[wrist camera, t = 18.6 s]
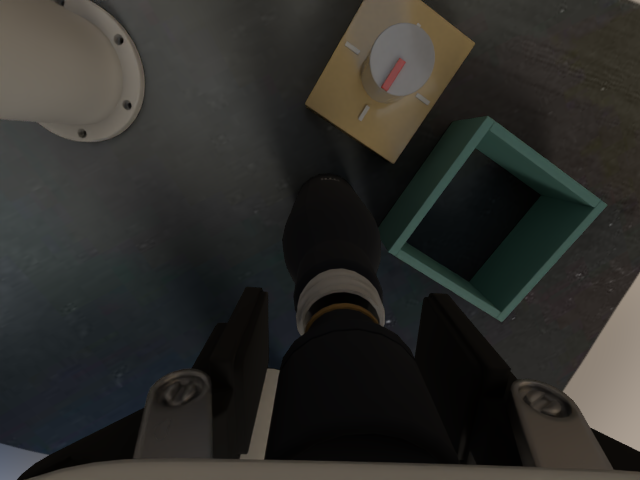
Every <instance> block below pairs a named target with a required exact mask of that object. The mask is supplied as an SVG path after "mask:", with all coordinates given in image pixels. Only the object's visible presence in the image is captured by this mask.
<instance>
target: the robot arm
mask: <svg viewBox="0 0 640 480" xmlns="http://www.w3.org/2000/svg"><path fill="white" fill-rule="evenodd" d="M122 41H123V43H122ZM144 90H145V78H144V69H143V66H142V62H141V59H140V55H139V53H138V51H137V49H136V46H135V44H134V42H133V40H132V39H131V37H130V36H129V34H128V33H127V31H126V30H125V28H124V27H123V26H122V25H121V24H120V23H119V22H118V21H117V20H116V19H115V18H114V17H113V16H112V15H111V14H109V13H108V12H107V11H105V10H104V9H103V8H101V7H100V6H98V5H96V4H95V3H93V2H91V1H90V0H0V119H2V120H15V121H29V122H37V123H38V124H40V125H41V126H43V127H44V128H46V129H47V130H49V131H50V132H52V133H54V134H56V135H58V136H60V137H63V138H66V139H70V140H74V141H82V142H99V141H104V140H108V139H111V138H113V137H115V136H117V135H120V134H121V133H122V132H123V131H125V130H126V129H127V128H129V126H130V125H131V124H132V123H133V121H134V120H135V119H136V117H137V115H138V113H139V111H140V109H141V106H142V102H143V98H144ZM130 104H131V105H132V107H130ZM86 133H87V134H86ZM268 361H269V337H268V292H263V290H262V288H256V287H246V288H245V290H244V292H243V294H242V296H241V298H240V300H239V302H238V304H237V305H236V307H235V309H234V311H233V313H232V315H231V317H230V319H229V321H228V323H218V324H217V325H216V326H215V328H214V330H213V332H212V333H211V335H210V337H209V339H208V340H207V342H206V344H205V346H204V347H203V349H202V351H201V353H200V355H199V356H198V358H197V360H196V362H195V363H194V365H193V367H192V369H182V370H178V371H174V372H172V373H169V374H167V375H165V376H163V377H162V378H161V379H159V380H158V381H156V382H155V384H154V385H153V386H152V387H151V388H150V390H149V393H148V395H147V399H146V404H145V408H143V409H141V410H139V411H137V412H135V413H133V414H131V415H129V416H127V417H125V418H123V419H121V420H119V421H117V422H115V423H113V424H111V425H109V426H107V427H105V428H103V429H101V430H99V431H97V432H95V433H93V434H91V435H89V436H87V437H85V438H83V439H81V440H79V441H77V442H75V443H73V444H71V445H69V446H67V447H65V448H63V449H61V450H59V451H57V452H55V453H53V454H51V455H49V456H47V457H46V458H44V459H42V460H40V461H39V462H37V463H35V464H34V465H33V466H31V467H30V468H29V469H28V470H26V471H25V472H24V473H23V474H22V475H21V476H20V477H19V478H18V479H17V480H640V452H639V451H637V450H635V449H633V448H631V447H629V446H627V445H625V444H622V443H621V442H619V441H616V440H614V439H613V438H610V437H608V436H606V435H604V434H602V433H600V432H598V431H596V430H594V429H592V428H590V427H589V425H588V423H587V422H586V420H585V418H584V416H583V415H582V413H581V411H580V409H579V408H578V406H577V405H576V404H575V402H574V401H573V400H572V399H571V398H570V397H568V396H567V395H566V394H565V393H563V392H562V391H560V390H559V389H557V388H555V387H553V386H551V385H549V384H547V383H544V382H541V381H537V380H533V379H518V380H517V378H516V377H515V376H514V375H513V374H512V372H511V371H510V370H511V368H510V367H509V366H508V365H507V364H506V363H505V361H504V360H503V359H502V358H501V357H500V355H499V354H498V353H497V352H496V351H495V350H494V348H493V347H492V346H491V345H490V344H489V342H488V341H487V340H486V339H485V338H484V337H483V335H482V334H481V333H480V332H479V331H478V329H477V328H476V327H475V326H474V325H473V324H472V322H471V321H470V320H469V319H468V318H467V316H466V315H465V314H464V313H463V312H462V311H461V309H460V308H459V307H458V306H457V305H456V303H455V302H454V301H453V300H452V299H451V298H450V296H449V295H448V294H436V293H430V294H429V297H425V298H424V300H423V305H422V312H421V319H420V326H419V333H418V340H417V346H416V353H415V361H416V363H417V366H418V368H419V370H420V372H421V375H422V377H423V379H424V382H425V384H426V386H427V388H428V391H429V393H430V395H431V397H432V400H433V402H434V404H435V406H436V409H437V411H438V413H439V416H440V418H441V420H442V422H443V425H444V427H445V429H446V431H447V434H448V436H449V438H450V440H451V443H452V445H453V447H454V450H455V452H456V454H457V457H458V459H459V462H460V464H426V463H390V462H350V461H306V460H256V459H240V456H241V454H247V453H248V450H249V446H250V442H251V437H252V433H253V429H254V424H255V420H256V416H257V411H258V407H259V403H260V398H261V394H262V390H263V385H264V381H265V377H266V372H267V368H268Z"/></svg>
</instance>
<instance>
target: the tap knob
mask: <svg viewBox="0 0 640 480" xmlns="http://www.w3.org/2000/svg"><path fill="white" fill-rule="evenodd" d="M434 63H435V51H434V46H433V43H432V41H431V39H430V37H429V35H428V34H427V33H426V32H425V31H424V30H423V29H422V28H420V27H419V26H417V25H415V24H411V23H398V24H394V25H392V26H390V27H388V28H387V29H385V30H384V31H383V32H382V33H381V34H380V35H379V36H378V37H377V39H376V40H375V42H374V44H373V46H372V48H371V49H370V51H369V53H368V55H367V57H366V59H365V60H364V63H363V66H362V70H361V80H362V85H363V87H364V89H365V91H366V93H367V94H368V95H369V96H370V97H371V98H372V99H373V100H375V101H377V102H380V103H385V104H389V103H394V102H397V101H399V100H401V99H403V98H405V97H406V96H408V95H410V94H412V93H414V92H416V91H417V90H419V89H420V88H421V87H422V86H423V85H424V84H425V83H426V82H427V80H428V79H429V77H430V75H431V73H432V71H433V68H434Z"/></svg>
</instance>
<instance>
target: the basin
mask: <svg viewBox="0 0 640 480" xmlns="http://www.w3.org/2000/svg"><path fill="white" fill-rule="evenodd" d="M475 148H476V149H478V150H479V151H480V152H482V153H483V154H485V155H486V156H487V157H489V158H490V159H492V160H493V161H494V162H496V163H497V164H499V165H500V166H501V167H503V168H504V169H505V170H507V171H508V172H510V173H511V174H512V175H514V176H515V177H517V178H518V179H519V180H521V181H522V182H524V183H525V184H526V185H528V186H529V187H531V188H532V189H533V190H535V191H536V192H537V193H539V194H540V195H541V196H540V197H539V199H538V200H537V201H536V202H535V203H534V205H533V206H532V207H531V208H530V209H529V211H528V212H527V213H526V214H525V215H524V217H523V218H522V219H521V220H520V221H519V223H518V224H517V225H516V226H515V227H514V229H513V230H512V231H511V232H510V233H509V235H508V236H507V237H506V238H505V239H504V241H503V242H502V243H501V244H500V245H499V247H498V248H497V249H496V250H495V251H494V253H493V254H492V255H491V256H490V257H489V259H488V260H487V261H486V262H485V263H484V265H483V266H482V267H481V268H480V269H479V271H478V272H477V273H476V274H475V275H474V277H473V278H472V279H471V280H470V281H469V282H468V281H467V280H465V279H463V278H462V277H460V276H459V275H457V274H456V273H454V272H452V271H451V270H449V269H448V268H446V267H444V266H443V265H441V264H440V263H438V262H437V261H435V260H433V259H432V258H430V257H429V256H427V255H425V254H424V253H422V252H421V251H419V250H417V249H416V248H414V247H413V246H411V245H410V244H408V243H406V241H407V239H408V238H409V237H410V235H411V234H412V233H413V231H414V230H415V229H416V227H417V226H418V225H419V223H420V222H421V221H422V219H423V218H424V217H425V215H426V214H427V212H428V211H429V210H430V208H431V207H432V206H433V204H434V203H435V202H436V200H437V199H438V198H439V196H440V195H441V194H442V192H443V191H444V189H445V188H446V187H447V185H448V184H449V183H450V181H451V180H452V179H453V177H454V176H455V175H456V173H457V172H458V171H459V169H460V168H461V167H462V165H463V164H464V162H465V161H466V160H467V158H468V157H469V156H470V154H471V153H472V152H473V150H474V149H475ZM606 206H607V204H606V203H604V202H603V201H602V200H600V199H599V198H598V197H596V196H595V195H594V194H592V193H591V192H590V191H588V190H587V189H586V188H584V187H583V186H582V185H580V184H579V183H578V182H576V181H575V180H574V179H572V178H571V177H570V176H568V175H567V174H565V173H564V172H563V171H561V170H560V169H559V168H557V167H556V166H555V165H553V164H552V163H551V162H549V161H548V160H547V159H545V158H544V157H543V156H541V155H540V154H539V153H537V152H536V151H535V150H533V149H532V148H531V147H529V146H528V145H527V144H525V143H524V142H523V141H521V140H520V139H519V138H517V137H516V136H515V135H513V134H512V133H511V132H509V131H508V130H506V129H505V128H504V127H502V126H501V125H500V124H498V123H497V122H496V121H494V120H493V119H492V118H490V117H489V116H483V117H477V118H471V119H465V120H458V121H453V122H452V123H451V125H450V126H449V127H448V129H447V130H446V132H445V133H444V135H443V136H442V137H441V139H440V140H439V142H438V143H437V145H436V146H435V147H434V149H433V150H432V152H431V153H430V154H429V156H428V157H427V159H426V160H425V162H424V163H423V164H422V166H421V167H420V169H419V170H418V172H417V173H416V174H415V176H414V177H413V179H412V180H411V181H410V183H409V184H408V186H407V187H406V189H405V190H404V191H403V193H402V194H401V196H400V197H399V199H398V200H397V201H396V203H395V204H394V206H393V207H392V208H391V210H390V211H389V213H388V214H387V216H386V217H385V218H384V220H383V221H382V223H381V224H380V226H379V227H378V229H379V232H380V239H381V241H382V242H383V244H384V245H385V247H386V249H387V250H388V252H389V253H391V254H393V255H394V256H396V257H397V258H399V259H401V260H402V261H404V262H406V263H407V264H409V265H410V266H412V267H414V268H415V269H417V270H418V271H420V272H422V273H423V274H425V275H427V276H428V277H430V278H431V279H433V280H435V281H436V282H438V283H439V284H441V285H443V286H444V287H446V288H448V289H449V290H451V291H452V292H454V293H456V294H457V295H459V296H461V297H462V298H464V299H465V300H467V301H469V302H470V303H472V304H473V305H475V306H477V307H478V308H480V309H482V310H483V311H485V312H486V313H488V314H490V315H491V316H493V317H495V318H496V319H498V320H499V321H501V322H502V321H503V320H504V319H505V318H506V317H507V316H508V315H509V314H510V313H511V312H512V310H513V309H514V308H515V307H516V306H517V305H518V304H519V303H520V302H521V300H522V299H523V298H524V297H525V296H526V295H527V294H528V293H529V292H530V290H531V289H532V288H533V287H534V286H535V285H536V284H537V283H538V282H539V280H540V279H541V278H542V277H543V276H544V275H545V274H546V273H547V272H548V270H549V269H550V268H551V267H552V266H553V265H554V264H555V263H556V262H557V260H558V259H559V258H560V257H561V256H562V255H563V254H564V253H565V252H566V251H567V249H568V248H569V247H570V246H571V245H572V244H573V243H574V242H575V241H576V239H577V238H578V237H579V236H580V235H581V234H582V233H583V232H584V231H585V229H586V228H587V227H588V226H589V225H590V224H591V223H592V222H593V221H594V219H595V218H596V217H597V216H598V215H599V214H600V213H601V212H602V211H603V209H604V208H605V207H606Z"/></svg>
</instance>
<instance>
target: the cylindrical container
mask: <svg viewBox="0 0 640 480" xmlns="http://www.w3.org/2000/svg"><path fill="white" fill-rule="evenodd" d="M279 372H280V370H276V369H267V372H266V377H265V381H264V385H263V390H262V394H261V398H260V403H259V407H258V411H257V416H256V420H255V424H254V429H253V433H252V437H251V442H250V446H249V450H248V453H247V454H241V456H240V459H256V460H264V457H265V451H266V445H267V439H268V434H269V428H270V422H271V416H272V411H273V405H274V399H275V393H276V388H277V382H278V376H279Z"/></svg>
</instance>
